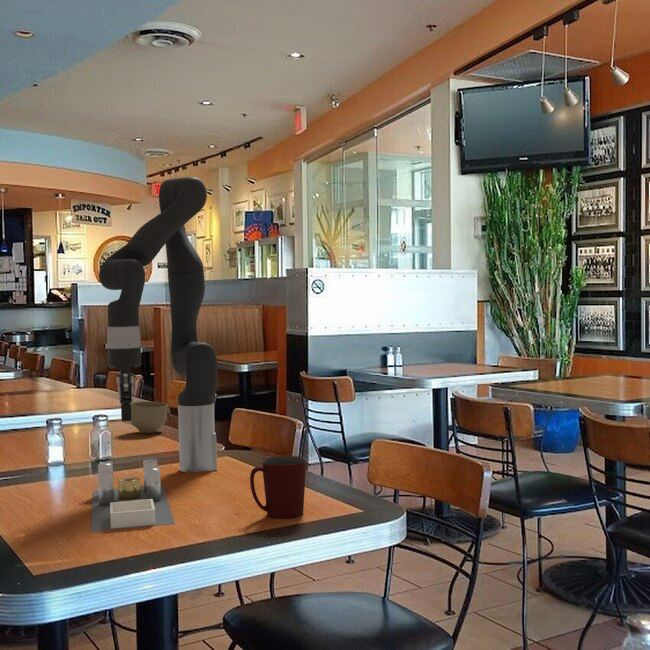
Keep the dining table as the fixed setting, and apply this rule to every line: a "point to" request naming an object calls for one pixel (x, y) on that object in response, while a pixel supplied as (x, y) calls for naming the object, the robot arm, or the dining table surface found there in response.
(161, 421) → the bowl
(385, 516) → the dining table surface
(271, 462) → the mug
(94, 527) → the mat
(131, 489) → the nut
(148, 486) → the spacers
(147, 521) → the white square tray
